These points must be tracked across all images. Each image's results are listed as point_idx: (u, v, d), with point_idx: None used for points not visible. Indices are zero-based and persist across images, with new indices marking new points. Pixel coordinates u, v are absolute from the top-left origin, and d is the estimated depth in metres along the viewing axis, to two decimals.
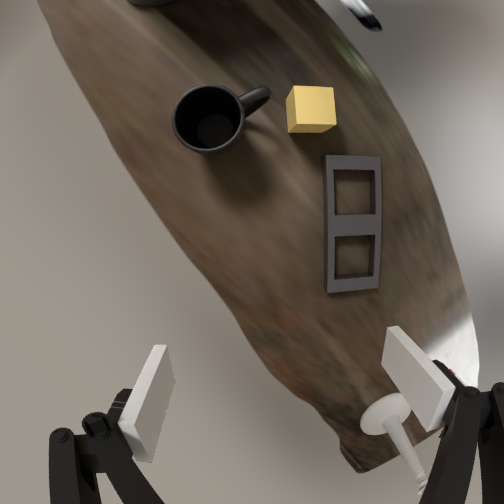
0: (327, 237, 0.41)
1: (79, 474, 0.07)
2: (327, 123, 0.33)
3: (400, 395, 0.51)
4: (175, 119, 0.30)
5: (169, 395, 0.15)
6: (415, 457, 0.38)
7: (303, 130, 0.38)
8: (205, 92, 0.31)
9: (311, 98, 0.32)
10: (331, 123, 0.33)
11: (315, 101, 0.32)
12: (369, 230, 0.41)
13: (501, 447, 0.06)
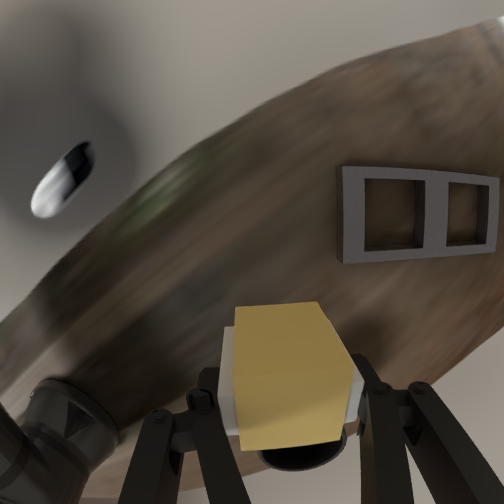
0: None
1: (166, 458, 0.08)
2: (347, 385, 0.11)
3: None
4: (298, 467, 0.23)
5: None
6: None
7: None
8: None
9: (274, 422, 0.12)
10: (349, 376, 0.11)
11: (284, 414, 0.12)
12: (443, 191, 0.24)
13: (438, 449, 0.07)
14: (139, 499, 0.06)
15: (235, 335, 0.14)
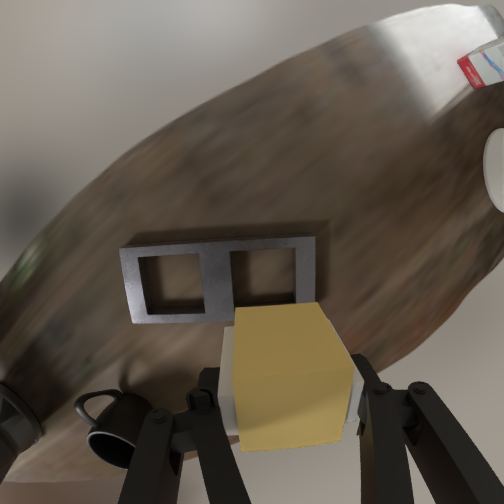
0: None
1: (166, 458, 0.08)
2: (348, 386, 0.11)
3: (488, 154, 0.28)
4: (124, 467, 0.28)
5: None
6: None
7: None
8: (96, 441, 0.28)
9: (274, 424, 0.12)
10: (349, 378, 0.11)
11: (284, 416, 0.12)
12: (223, 261, 0.29)
13: (438, 449, 0.07)
14: (139, 500, 0.06)
15: (235, 336, 0.14)
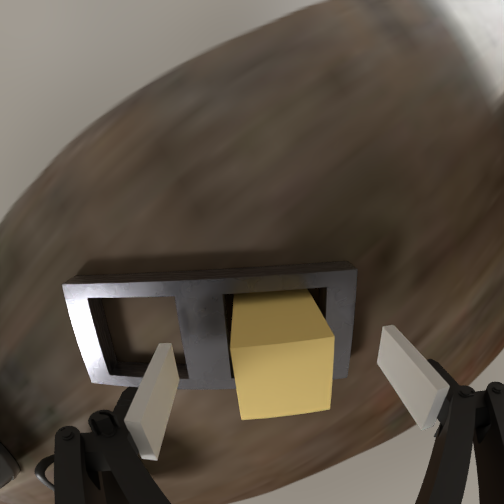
0: (234, 387, 0.20)
1: (84, 472, 0.07)
2: (331, 355, 0.14)
3: None
4: None
5: (174, 393, 0.15)
6: None
7: None
8: None
9: (268, 391, 0.14)
10: (331, 347, 0.14)
11: (276, 383, 0.14)
12: (213, 309, 0.18)
13: (497, 447, 0.06)
14: None
15: (233, 316, 0.17)
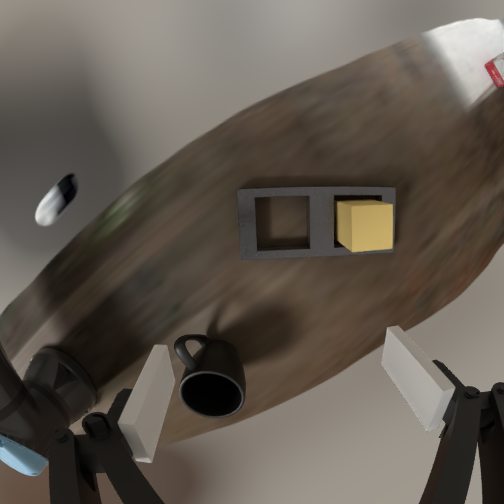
0: (334, 255, 0.36)
1: (79, 474, 0.07)
2: (391, 214, 0.30)
3: None
4: (213, 415, 0.34)
5: (169, 395, 0.15)
6: None
7: None
8: (185, 389, 0.35)
9: (365, 232, 0.30)
10: (391, 210, 0.30)
11: (369, 227, 0.30)
12: (328, 203, 0.35)
13: (501, 447, 0.06)
14: None
15: (342, 203, 0.33)
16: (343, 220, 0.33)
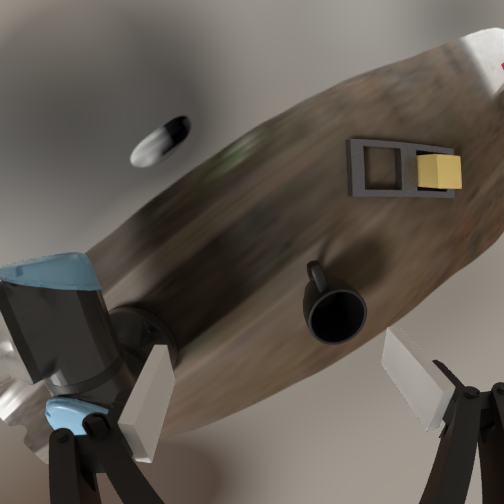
0: (417, 196, 0.41)
1: (79, 474, 0.07)
2: (459, 163, 0.35)
3: None
4: (335, 341, 0.38)
5: (169, 395, 0.15)
6: None
7: None
8: None
9: (445, 174, 0.35)
10: (459, 160, 0.35)
11: (447, 171, 0.35)
12: (413, 155, 0.39)
13: (501, 447, 0.06)
14: None
15: (424, 155, 0.38)
16: (426, 167, 0.38)
